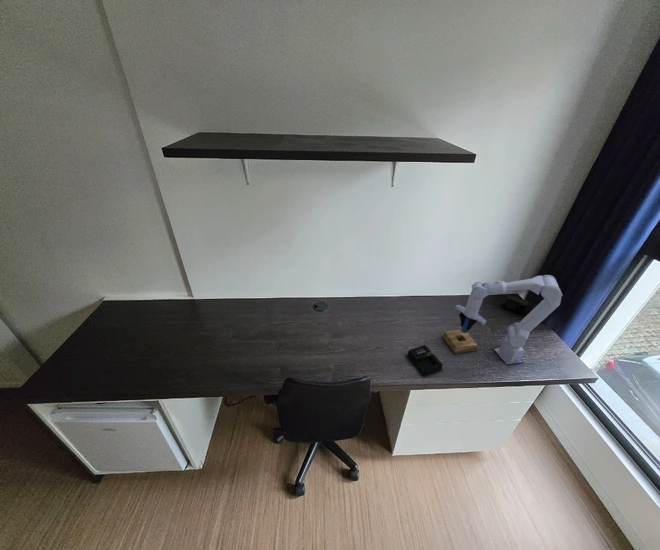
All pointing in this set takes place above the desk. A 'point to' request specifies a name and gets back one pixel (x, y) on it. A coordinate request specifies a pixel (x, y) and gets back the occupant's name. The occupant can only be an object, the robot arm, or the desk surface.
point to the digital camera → (516, 304)
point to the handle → (465, 325)
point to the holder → (459, 341)
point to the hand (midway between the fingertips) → (465, 327)
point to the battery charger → (424, 360)
